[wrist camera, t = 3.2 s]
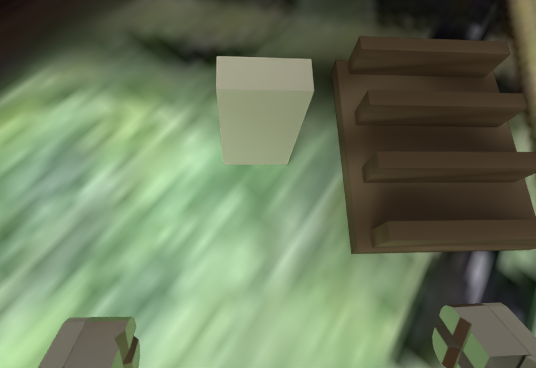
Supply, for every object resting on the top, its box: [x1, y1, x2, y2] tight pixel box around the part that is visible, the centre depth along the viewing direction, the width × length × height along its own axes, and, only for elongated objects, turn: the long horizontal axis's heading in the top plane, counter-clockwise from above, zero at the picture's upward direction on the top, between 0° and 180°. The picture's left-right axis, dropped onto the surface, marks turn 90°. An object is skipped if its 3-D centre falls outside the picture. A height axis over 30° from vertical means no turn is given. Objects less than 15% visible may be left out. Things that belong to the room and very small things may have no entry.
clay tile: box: [216, 56, 314, 165], centre depth 22 cm, size 2×5×10 cm, turn 92°
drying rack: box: [331, 36, 536, 254], centre depth 26 cm, size 16×14×4 cm
